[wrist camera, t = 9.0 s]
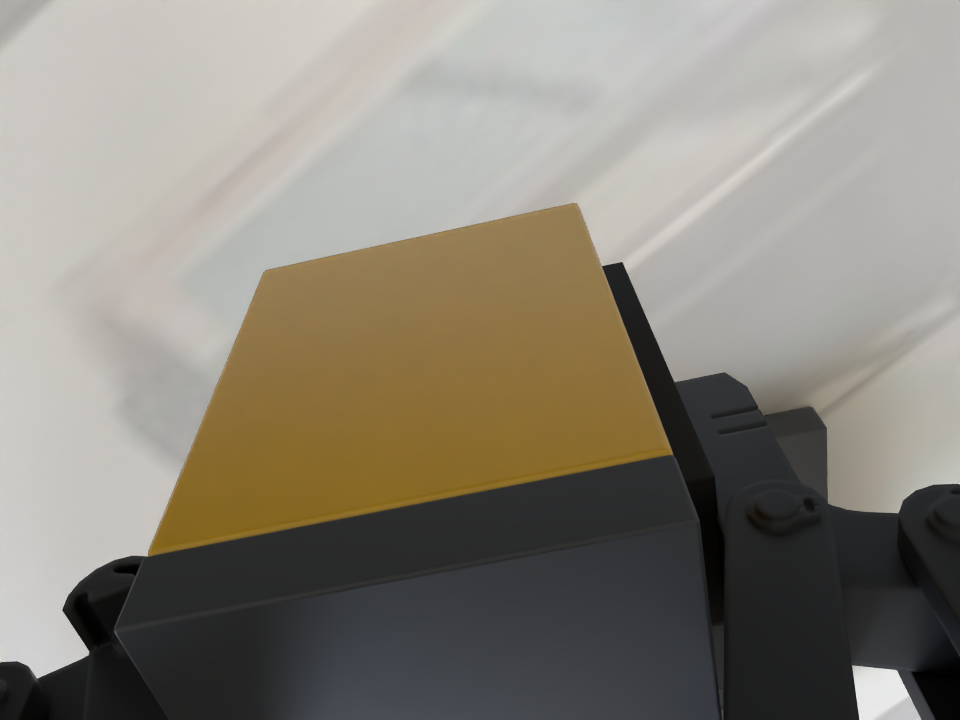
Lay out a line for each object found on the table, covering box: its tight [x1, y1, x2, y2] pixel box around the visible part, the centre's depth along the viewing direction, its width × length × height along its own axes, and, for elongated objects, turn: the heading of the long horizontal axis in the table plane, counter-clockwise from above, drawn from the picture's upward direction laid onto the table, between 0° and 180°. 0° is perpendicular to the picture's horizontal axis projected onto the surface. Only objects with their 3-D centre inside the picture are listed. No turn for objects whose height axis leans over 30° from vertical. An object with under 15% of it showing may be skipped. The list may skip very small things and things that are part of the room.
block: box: [114, 203, 722, 720], centre depth 13 cm, size 6×6×8 cm
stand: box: [712, 407, 828, 720], centre depth 28 cm, size 10×14×9 cm
